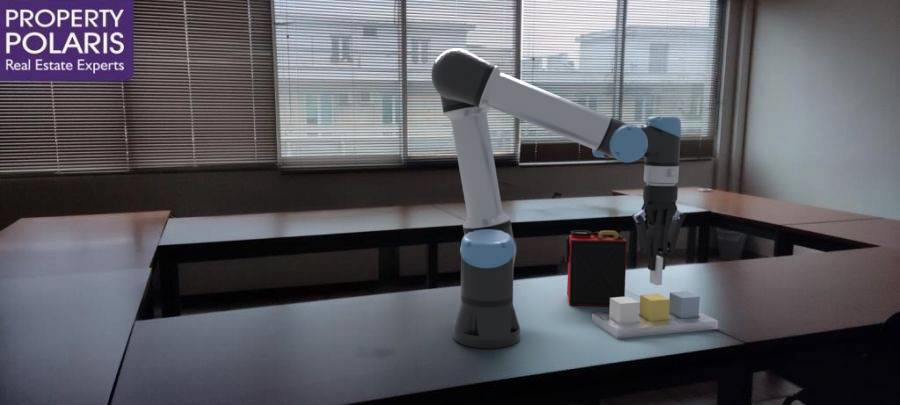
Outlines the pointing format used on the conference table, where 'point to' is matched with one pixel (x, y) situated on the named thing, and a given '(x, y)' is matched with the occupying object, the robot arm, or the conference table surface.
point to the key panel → (654, 325)
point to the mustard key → (654, 307)
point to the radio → (595, 267)
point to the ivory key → (624, 310)
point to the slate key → (684, 304)
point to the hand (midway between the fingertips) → (655, 283)
